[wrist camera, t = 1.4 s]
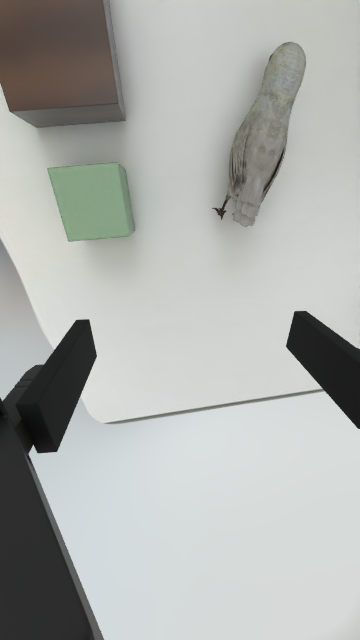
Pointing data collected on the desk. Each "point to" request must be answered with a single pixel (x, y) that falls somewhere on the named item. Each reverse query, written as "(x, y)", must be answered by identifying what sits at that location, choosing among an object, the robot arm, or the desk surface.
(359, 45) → the desk surface
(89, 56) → the walnut block
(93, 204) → the green block
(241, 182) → the decorative bird
